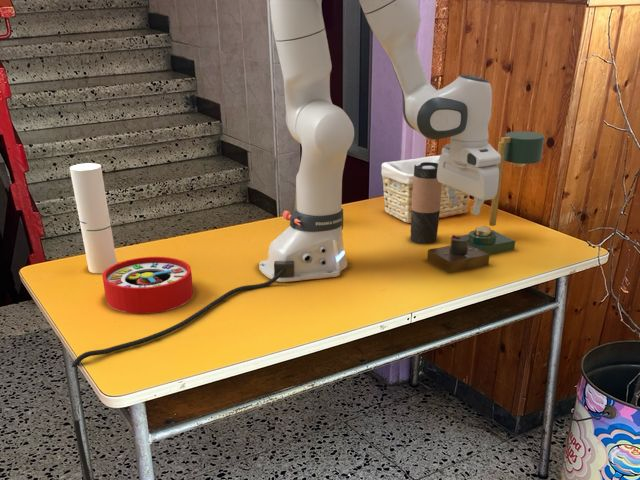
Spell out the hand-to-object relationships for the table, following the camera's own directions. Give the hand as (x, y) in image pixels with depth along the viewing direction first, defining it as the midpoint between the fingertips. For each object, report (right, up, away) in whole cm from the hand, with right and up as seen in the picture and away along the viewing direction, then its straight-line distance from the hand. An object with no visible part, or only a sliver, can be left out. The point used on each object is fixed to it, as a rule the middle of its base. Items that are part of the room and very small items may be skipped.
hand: (463, 209), depth 181 cm
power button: (+8, -3, +13) cm, 15 cm away
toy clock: (-75, -23, -9) cm, 79 cm away
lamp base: (+9, -6, +17) cm, 20 cm away
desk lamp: (+17, +3, +21) cm, 27 cm away
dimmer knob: (0, -9, +6) cm, 11 cm away
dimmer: (0, -12, +7) cm, 14 cm away
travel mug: (-7, -2, +23) cm, 24 cm away
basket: (-3, +12, +43) cm, 45 cm away
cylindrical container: (-90, -13, +6) cm, 92 cm away
